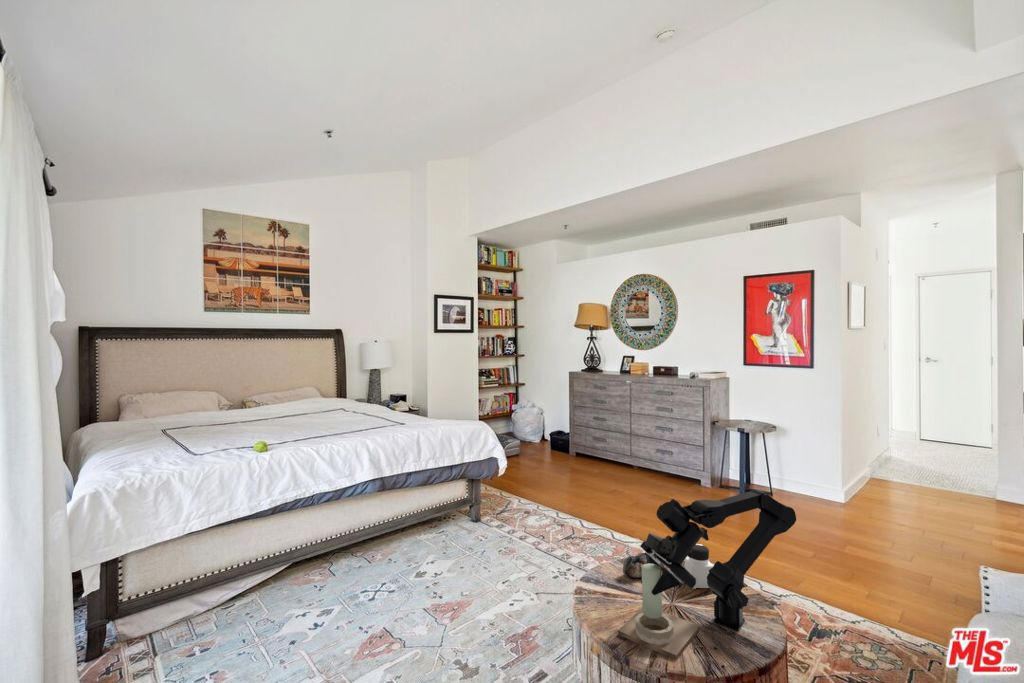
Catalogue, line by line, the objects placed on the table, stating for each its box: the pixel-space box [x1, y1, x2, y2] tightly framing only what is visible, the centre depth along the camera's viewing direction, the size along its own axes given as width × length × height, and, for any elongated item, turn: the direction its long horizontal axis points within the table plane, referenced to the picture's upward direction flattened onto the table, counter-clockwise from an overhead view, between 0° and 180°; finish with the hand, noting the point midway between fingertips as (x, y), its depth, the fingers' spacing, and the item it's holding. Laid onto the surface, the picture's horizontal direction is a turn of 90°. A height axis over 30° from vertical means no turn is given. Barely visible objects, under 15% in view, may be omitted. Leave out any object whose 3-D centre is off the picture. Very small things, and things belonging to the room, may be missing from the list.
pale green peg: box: [641, 563, 663, 618], centre depth 127 cm, size 5×5×12 cm
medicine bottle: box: [684, 543, 714, 590], centre depth 154 cm, size 7×7×12 cm
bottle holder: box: [617, 606, 701, 661], centre depth 129 cm, size 16×16×4 cm
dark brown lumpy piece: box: [622, 552, 666, 578], centre depth 159 cm, size 12×7×10 cm
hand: (647, 588), depth 127 cm, fingers closed on pale green peg, 5 cm apart
